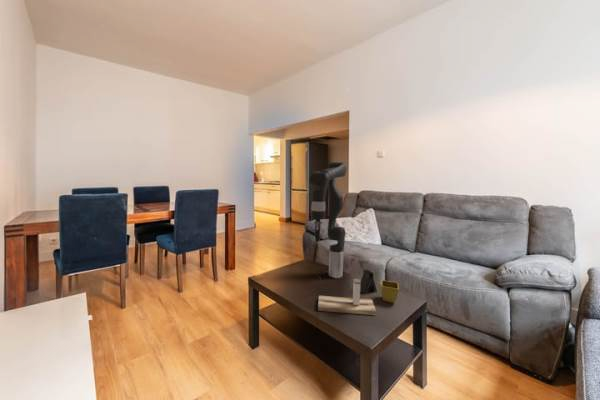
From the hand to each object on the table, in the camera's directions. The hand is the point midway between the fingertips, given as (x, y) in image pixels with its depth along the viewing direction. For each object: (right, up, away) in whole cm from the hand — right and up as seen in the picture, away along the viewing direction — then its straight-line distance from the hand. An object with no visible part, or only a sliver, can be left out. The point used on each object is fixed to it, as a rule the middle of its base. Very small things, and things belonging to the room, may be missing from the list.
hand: (317, 241), depth 139 cm
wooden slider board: (+14, -32, -8) cm, 36 cm away
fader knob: (+19, -30, -8) cm, 37 cm away
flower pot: (+39, -32, +1) cm, 51 cm away
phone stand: (+30, -31, +12) cm, 45 cm away
